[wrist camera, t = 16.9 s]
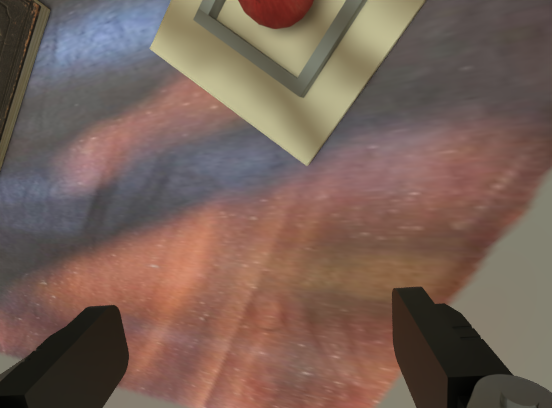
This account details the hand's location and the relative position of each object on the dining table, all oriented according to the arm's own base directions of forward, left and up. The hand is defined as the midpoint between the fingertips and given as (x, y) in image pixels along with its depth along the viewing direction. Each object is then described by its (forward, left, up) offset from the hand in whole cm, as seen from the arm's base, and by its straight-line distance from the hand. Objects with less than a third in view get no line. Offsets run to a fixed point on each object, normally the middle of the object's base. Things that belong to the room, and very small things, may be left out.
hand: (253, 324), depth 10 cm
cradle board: (-5, +15, -23) cm, 28 cm away
